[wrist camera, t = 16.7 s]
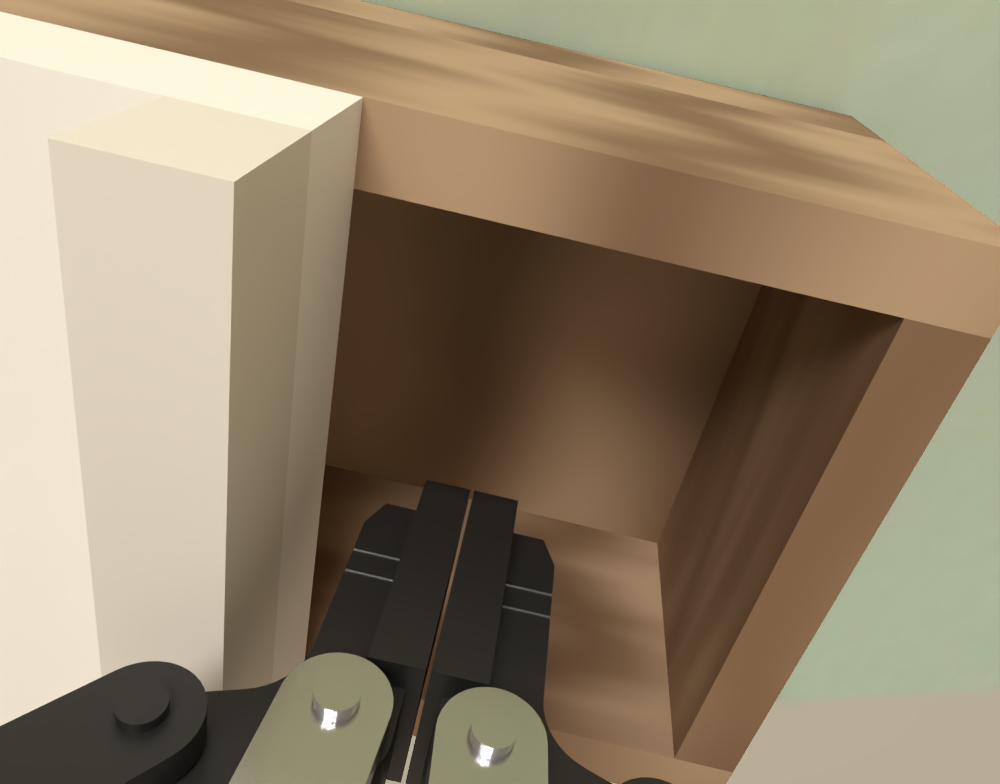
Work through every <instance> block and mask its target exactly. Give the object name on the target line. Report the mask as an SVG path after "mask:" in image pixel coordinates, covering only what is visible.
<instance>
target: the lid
mask: <svg viewBox="0 0 1000 784" xmlns="http://www.w3.org/2000/svg"><path fill="white" fill-rule="evenodd" d="M362 102H363V97H361V96H356V95H352V94H348V93H344V92H339V91H335V90H331V89H327V88H322V87H318V86H314V85H310V84H306V83H301V82H297V81H293V80H289V79H284V78H280V77H276V76H272V75H267V74H263V73H259V72H255V71H250V70H246V69H242V68H238V67H233V66H229V65H225V64H221V63H216V62H212V61H208V60H204V59H199V58H195V57H191V56H187V55H182V54H178V53H174V52H170V51H165V50H161V49H157V48H153V47H148V46H144V45H140V44H136V43H131V42H127V41H123V40H119V39H114V38H110V37H106V36H102V35H98V34H93V33H89V32H85V31H81V30H76V29H72V28H68V27H64V26H59V25H55V24H51V23H47V22H42V21H38V20H34V19H30V18H25V17H21V16H17V15H13V14H8V13H4V12H0V726H1V725H3V724H5V723H7V722H10V721H12V720H14V719H16V718H18V717H20V716H22V715H24V714H26V713H28V712H30V711H32V710H34V709H36V708H39V707H41V706H43V705H45V704H47V703H49V702H51V701H53V700H55V699H57V698H59V697H61V696H63V695H66V694H68V693H70V692H72V691H74V690H76V689H78V688H80V687H82V686H84V685H86V684H88V683H90V682H92V681H95V680H97V679H99V678H101V677H103V676H105V675H107V674H109V673H111V672H113V671H115V670H118V669H120V668H122V667H125V666H128V665H131V664H135V663H140V662H147V661H162V662H170V663H173V664H177V665H180V666H182V667H184V668H186V669H188V670H189V671H191V672H192V673H193V674H195V675H196V677H197V678H198V679H199V680H200V681H201V683H202V685H203V686H204V688H205V692H206V691H222V690H237V689H249V688H256V687H260V686H264V685H268V684H270V683H273V682H276V681H278V680H280V679H282V678H284V677H285V676H287V675H288V674H289V673H290V672H291V671H292V670H293V669H294V668H295V667H296V666H298V665H299V664H300V663H302V662H304V660H305V652H306V642H307V633H308V623H309V614H310V604H311V594H312V585H313V575H314V565H315V556H316V546H317V536H318V527H319V517H320V507H321V498H322V488H323V478H324V469H325V459H326V450H327V440H328V430H329V421H330V411H331V401H332V392H333V382H334V372H335V363H336V353H337V343H338V334H339V324H340V314H341V305H342V295H343V286H344V276H345V266H346V257H347V247H348V237H349V228H350V218H351V208H352V199H353V189H354V179H355V170H356V160H357V150H358V141H359V131H360V122H361V112H362Z"/></svg>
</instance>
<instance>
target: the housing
mask: <svg viewBox="0 0 1000 784" xmlns="http://www.w3.org/2000/svg"><path fill="white" fill-rule="evenodd" d="M0 12H4V13H8V14H13V15H17V16H21V17H25V18H30V19H34V20H38V21H42V22H47V23H51V24H55V25H59V26H64V27H68V28H72V29H76V30H81V31H85V32H89V33H93V34H98V35H102V36H106V37H110V38H114V39H119V40H123V41H127V42H131V43H136V44H140V45H144V46H148V47H153V48H157V49H161V50H165V51H170V52H174V53H178V54H182V55H187V56H191V57H195V58H199V59H204V60H208V61H212V62H216V63H221V64H225V65H229V66H233V67H238V68H242V69H246V70H250V71H255V72H259V73H263V74H267V75H272V76H276V77H280V78H284V79H289V80H293V81H297V82H301V83H306V84H310V85H314V86H318V87H322V88H327V89H331V90H335V91H339V92H344V93H348V94H352V95H356V96H361V97H363V102H362V112H361V122H360V131H359V141H358V150H357V160H356V170H355V179H354V189H353V199H352V208H351V218H350V228H349V237H348V247H347V257H346V266H345V276H344V286H343V295H342V305H341V314H340V324H339V334H338V343H337V353H336V363H335V372H334V382H333V392H332V401H331V411H330V421H329V430H328V440H327V450H326V459H325V469H324V478H323V488H322V498H321V507H320V517H319V527H318V536H317V546H316V556H315V565H314V575H313V585H312V594H311V604H310V614H309V623H308V633H307V642H306V652H305V659H306V658H307V656H308V655H309V653H310V651H311V649H312V648H313V645H314V643H315V640H316V638H317V636H318V633H319V631H320V628H321V626H322V623H323V621H324V619H325V616H326V614H327V611H328V609H329V607H330V604H331V602H332V599H333V597H334V594H335V592H336V590H337V587H338V585H339V582H340V580H341V577H342V575H343V573H344V572H345V569H346V565H347V563H348V560H349V558H350V556H351V553H352V551H353V550H354V546H355V544H356V541H357V539H358V536H359V534H360V531H361V529H362V527H363V524H364V522H365V521H366V520H367V519H368V518H370V517H371V516H372V515H373V514H374V513H375V512H377V511H378V510H379V509H380V508H381V507H383V506H384V505H385V504H386V503H387V504H391V505H395V506H400V507H404V508H408V509H413V510H416V509H417V506H418V503H419V500H420V497H421V494H422V491H423V488H424V485H425V482H426V480H431V481H436V482H440V483H444V484H448V485H453V486H457V487H461V488H466V489H470V494H469V499H468V503H467V508H466V512H465V516H464V521H463V525H462V529H461V534H460V538H459V543H458V547H457V551H456V556H455V560H454V565H453V569H452V573H451V577H450V582H449V586H448V590H447V594H446V598H445V602H444V607H443V611H442V615H441V619H440V623H439V627H438V631H437V635H436V640H435V644H434V648H433V652H432V656H431V660H430V664H429V668H428V672H427V677H426V681H425V685H424V689H423V693H422V697H421V701H420V705H419V709H418V714H417V718H416V722H415V726H414V730H413V734H412V735H414V736H417V731H418V727H419V722H420V718H421V714H422V709H423V705H424V701H425V696H426V692H427V688H428V683H429V679H430V675H431V670H432V666H433V662H434V658H435V654H436V649H437V645H438V641H439V637H440V633H441V628H442V624H443V620H444V616H445V612H446V607H447V603H448V599H449V595H450V591H451V586H452V582H453V578H454V574H455V570H456V565H457V561H458V557H459V553H460V549H461V544H462V540H463V536H464V532H465V528H466V523H467V519H468V515H469V511H470V507H471V502H472V498H473V494H474V490H475V491H479V492H484V493H488V494H492V495H496V496H501V497H505V498H509V499H514V500H518V506H517V513H516V519H515V526H514V532H513V533H516V534H521V535H525V536H529V537H533V538H538V539H542V540H544V542H545V544H546V547H547V549H548V551H549V554H550V556H551V559H552V561H553V563H554V566H555V568H554V580H553V592H552V597H551V598H552V604H551V615H550V628H549V640H548V653H547V665H546V677H545V689H544V714H545V719H546V722H547V725H548V728H549V730H550V732H551V734H552V736H553V738H554V739H555V740H556V742H557V743H558V745H559V746H560V747H561V748H562V749H563V751H564V752H565V753H566V754H567V755H568V756H569V757H571V758H572V759H573V760H574V761H575V762H577V763H578V764H580V765H581V766H583V767H584V768H586V769H588V770H589V771H591V772H593V773H595V774H596V775H598V776H600V777H601V778H603V779H605V780H607V781H608V782H613V783H617V784H622V783H623V782H625V781H628V780H630V779H634V778H640V777H651V778H656V779H661V780H664V781H667V782H670V783H672V784H726V783H727V781H728V779H729V778H730V776H731V774H732V773H733V771H734V769H735V767H736V766H737V764H738V763H739V761H740V759H741V758H742V756H743V754H744V753H745V751H746V749H747V748H748V746H749V744H750V742H751V741H752V739H753V737H754V736H755V734H756V732H757V731H758V729H759V727H760V726H761V724H762V722H763V721H764V719H765V717H766V716H767V714H768V712H769V711H770V709H771V707H772V706H773V704H774V702H775V701H776V699H777V697H778V696H779V694H780V692H781V690H782V689H783V687H784V685H785V684H786V682H787V680H788V679H789V677H790V675H791V674H792V672H793V670H794V669H795V667H796V665H797V664H798V662H799V660H800V659H801V657H802V655H803V654H804V652H805V650H806V649H807V647H808V645H809V643H810V642H811V640H812V638H813V637H814V635H815V633H816V632H817V630H818V628H819V627H820V625H821V623H822V622H823V620H824V618H825V617H826V615H827V613H828V612H829V610H830V608H831V607H832V605H833V603H834V602H835V600H836V598H837V597H838V595H839V593H840V591H841V590H842V588H843V586H844V585H845V583H846V581H847V580H848V578H849V576H850V575H851V573H852V571H853V570H854V568H855V566H856V565H857V563H858V561H859V560H860V558H861V556H862V555H863V553H864V551H865V550H866V548H867V546H868V544H869V543H870V541H871V539H872V538H873V536H874V534H875V533H876V531H877V529H878V528H879V526H880V524H881V523H882V521H883V519H884V518H885V516H886V514H887V513H888V511H889V509H890V508H891V506H892V504H893V503H894V501H895V499H896V498H897V496H898V494H899V492H900V491H901V489H902V487H903V486H904V484H905V482H906V481H907V479H908V477H909V476H910V474H911V472H912V471H913V469H914V467H915V466H916V464H917V462H918V461H919V459H920V457H921V456H922V454H923V452H924V451H925V449H926V447H927V445H928V444H929V442H930V440H931V439H932V437H933V435H934V434H935V432H936V430H937V429H938V427H939V425H940V424H941V422H942V420H943V419H944V417H945V415H946V414H947V412H948V410H949V409H950V407H951V405H952V404H953V402H954V400H955V399H956V397H957V395H958V393H959V392H960V390H961V388H962V387H963V385H964V383H965V382H966V380H967V378H968V377H969V375H970V373H971V372H972V370H973V368H974V367H975V365H976V363H977V362H978V360H979V358H980V357H981V355H982V353H983V352H984V350H985V348H986V346H987V345H988V343H989V341H990V340H991V338H992V336H993V335H994V333H995V331H996V330H997V328H998V326H999V325H1000V226H998V225H997V224H996V223H994V222H993V221H992V220H990V219H989V218H988V217H986V216H985V215H984V214H982V213H981V212H980V211H978V210H977V209H976V208H974V207H973V206H972V205H970V204H969V203H968V202H966V201H965V200H963V199H962V198H961V197H959V196H958V195H957V194H955V193H954V192H953V191H951V190H950V189H949V188H947V187H946V186H945V185H943V184H942V183H941V182H939V181H938V180H937V179H935V178H934V177H933V176H931V175H930V174H929V173H927V172H926V171H925V170H923V169H922V168H921V167H919V166H918V165H916V164H915V163H914V162H912V161H911V160H910V159H908V158H907V157H906V156H904V155H903V154H902V153H900V152H899V151H898V150H896V149H895V148H894V147H892V146H891V145H890V144H888V143H887V142H886V141H884V140H883V139H882V138H880V137H879V136H878V135H876V134H875V133H874V132H872V131H871V130H869V129H868V128H867V127H865V126H864V125H863V124H861V123H860V122H859V121H857V120H856V119H855V118H853V117H852V116H848V115H844V114H840V113H836V112H831V111H827V110H823V109H819V108H814V107H810V106H806V105H802V104H797V103H793V102H789V101H785V100H780V99H776V98H772V97H768V96H763V95H759V94H755V93H751V92H746V91H742V90H738V89H734V88H729V87H725V86H721V85H717V84H712V83H708V82H704V81H700V80H695V79H691V78H687V77H683V76H678V75H674V74H670V73H666V72H661V71H657V70H653V69H649V68H644V67H640V66H636V65H632V64H627V63H623V62H619V61H615V60H610V59H606V58H602V57H598V56H593V55H589V54H585V53H581V52H576V51H572V50H568V49H564V48H559V47H555V46H551V45H547V44H542V43H538V42H534V41H530V40H526V39H521V38H517V37H513V36H509V35H504V34H500V33H496V32H492V31H487V30H483V29H479V28H475V27H470V26H466V25H462V24H458V23H453V22H449V21H445V20H441V19H436V18H432V17H428V16H424V15H419V14H415V13H411V12H407V11H402V10H398V9H394V8H390V7H385V6H381V5H377V4H373V3H368V2H364V1H360V0H0Z"/></svg>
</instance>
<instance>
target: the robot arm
mask: <svg viewBox="0 0 1000 784" xmlns="http://www.w3.org/2000/svg"><path fill="white" fill-rule="evenodd" d="M469 494H470V489H466V488H461V487H457V486H453V485H448V484H444V483H440V482H436V481H431V480H426V482H425V485H424V488H423V491H422V494H421V497H420V500H419V503H418V506H417V509H416V510H413V509H408V508H404V507H400V506H395V505H391V504H387V503H386V504H385V505H384V506H383V507H381V508H380V509H379V510H378V511H377V512H375V513H374V514H373V515H372V516H371V517H370V518H368V519H367V520H366V521H365V522H364V524H363V527H362V529H361V531H360V534H359V536H358V539H357V541H356V544H355V546H354V550H353V551H352V553H351V556H350V558H349V560H348V563H347V565H346V569H345V572H344V573H343V575H342V577H341V580H340V582H339V585H338V587H337V590H336V592H335V594H334V597H333V599H332V602H331V604H330V607H329V609H328V611H327V614H326V616H325V619H324V621H323V623H322V626H321V628H320V631H319V633H318V636H317V638H316V640H315V643H314V645H313V648H312V649H311V651H310V653H309V655H308V656H307V658H306V659H305V660H304V662H302V663H300V664H299V665H298V666H296V667H295V668H294V669H293V670H292V671H291V672H290V673H289V674H288V675H287V676H285V677H284V678H282V679H280V680H278V681H276V682H273V683H270V684H268V685H264V686H260V687H256V688H249V689H237V690H222V691H206V692H205V688H204V686H203V685H202V683H201V681H200V680H199V679H198V678H197V677H196V675H195V674H193V673H192V672H191V671H189V670H188V669H186V668H184V667H182V666H180V665H177V664H173V663H170V662H162V661H147V662H140V663H135V664H131V665H128V666H125V667H122V668H120V669H118V670H115V671H113V672H111V673H109V674H107V675H105V676H103V677H101V678H99V679H97V680H95V681H92V682H90V683H88V684H86V685H84V686H82V687H80V688H78V689H76V690H74V691H72V692H70V693H68V694H66V695H63V696H61V697H59V698H57V699H55V700H53V701H51V702H49V703H47V704H45V705H43V706H41V707H39V708H36V709H34V710H32V711H30V712H28V713H26V714H24V715H22V716H20V717H18V718H16V719H14V720H12V721H10V722H7V723H5V724H3V725H1V726H0V784H385V781H386V779H388V780H392V781H397V782H401V779H402V775H403V771H404V767H405V763H406V759H407V754H408V751H409V746H410V742H411V738H412V734H413V730H414V726H415V722H416V718H417V714H418V709H419V705H420V701H421V697H422V693H423V689H424V685H425V681H426V677H427V672H428V668H429V664H430V660H431V656H432V652H433V648H434V644H435V640H436V635H437V631H438V627H439V623H440V619H441V615H442V611H443V607H444V602H445V598H446V594H447V590H448V586H449V582H450V577H451V573H452V569H453V565H454V560H455V556H456V551H457V547H458V543H459V538H460V534H461V529H462V525H463V521H464V516H465V512H466V508H467V503H468V499H469ZM517 506H518V500H514V499H509V498H505V497H501V496H496V495H492V494H488V493H484V492H479V491H475V490H474V494H473V498H472V502H471V507H470V511H469V515H468V519H467V523H466V528H465V532H464V536H463V540H462V544H461V549H460V553H459V557H458V561H457V565H456V570H455V574H454V578H453V582H452V586H451V591H450V595H449V599H448V603H447V607H446V612H445V616H444V620H443V624H442V628H441V633H440V637H439V641H438V645H437V649H436V654H435V658H434V662H433V666H432V670H431V675H430V679H429V683H428V688H427V692H426V696H425V701H424V705H423V709H422V714H421V718H420V722H419V727H418V731H417V736H416V740H415V744H414V749H413V753H412V757H411V762H410V766H409V770H408V775H407V779H406V784H612V783H610V782H608V781H607V780H605V779H603V778H601V777H600V776H598V775H596V774H595V773H593V772H591V771H589V770H588V769H586V768H584V767H583V766H581V765H580V764H578V763H577V762H575V761H574V760H573V759H572V758H571V757H569V756H568V755H567V754H566V753H565V752H564V751H563V749H562V748H561V747H560V746H559V745H558V743H557V742H556V740H555V739H554V738H553V736H552V734H551V732H550V730H549V728H548V725H547V722H546V719H545V714H544V689H545V677H546V665H547V653H548V640H549V628H550V615H551V604H552V598H551V597H552V592H553V580H554V568H555V566H554V563H553V561H552V559H551V556H550V554H549V551H548V549H547V547H546V544H545V542H544V540H542V539H538V538H533V537H529V536H525V535H521V534H516V533H513V532H514V526H515V519H516V513H517ZM622 784H672V783H670V782H667V781H664V780H661V779H656V778H651V777H640V778H634V779H630V780H628V781H625V782H623V783H622Z"/></svg>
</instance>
